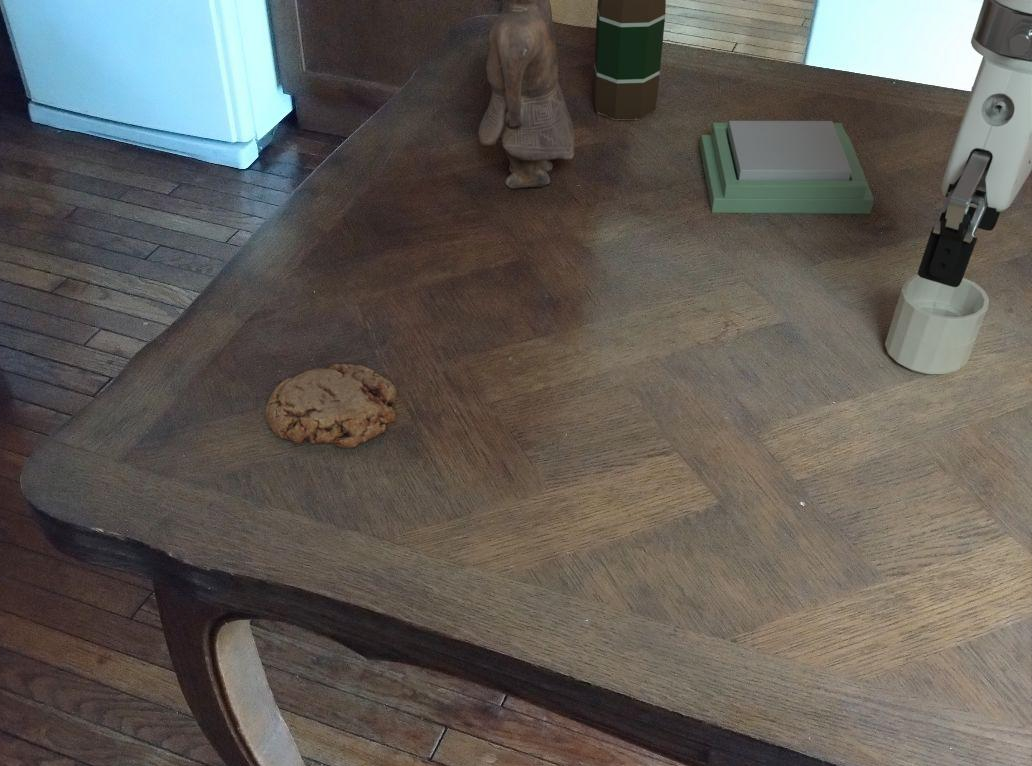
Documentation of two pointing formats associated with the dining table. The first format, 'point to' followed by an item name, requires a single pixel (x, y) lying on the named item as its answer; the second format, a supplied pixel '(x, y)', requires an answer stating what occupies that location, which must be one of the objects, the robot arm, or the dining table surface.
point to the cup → (936, 325)
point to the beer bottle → (628, 57)
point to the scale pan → (787, 150)
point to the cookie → (332, 406)
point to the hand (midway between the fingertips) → (956, 251)
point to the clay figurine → (526, 94)
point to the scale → (780, 184)
